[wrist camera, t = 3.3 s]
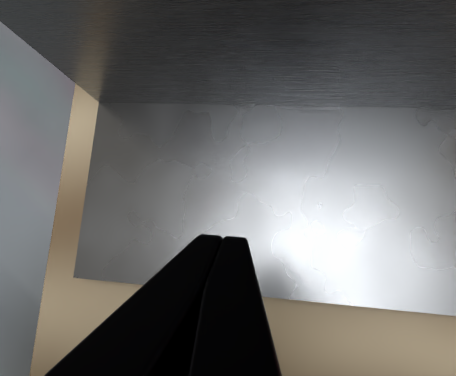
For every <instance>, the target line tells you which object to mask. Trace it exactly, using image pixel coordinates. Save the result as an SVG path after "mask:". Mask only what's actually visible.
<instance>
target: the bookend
mask: <svg viewBox="0 0 456 376" xmlns="http://www.w3.org/2000/svg"><path fill="white" fill-rule="evenodd" d="M0 21H1V22H2V23H3V24H4V25H6V26H7V27H8V28H9V29H10V30H12V31H13V32H14V33H15V34H16V35H18V36H19V37H20V38H21V39H23V40H24V41H25V42H26V43H27V44H29V45H30V46H31V47H32V48H33V49H35V50H36V51H37V52H38V53H40V54H41V55H42V56H43V57H44V58H46V59H47V60H48V61H49V62H50V63H52V64H53V65H54V66H55V67H56V68H58V69H59V70H60V71H61V72H63V73H64V74H65V75H66V76H67V77H69V78H70V79H71V80H72V81H73V82H75V83H76V84H77V85H78V86H80V87H81V88H82V89H83V90H84V91H86V92H87V93H88V94H89V95H90V96H92V97H93V98H94V99H95V100H97V101H98V102H99V104H98V111H97V118H96V125H95V132H94V139H93V145H92V152H91V159H90V166H89V173H88V179H87V186H86V193H85V200H84V207H83V214H82V220H81V227H80V234H79V241H78V248H77V255H76V261H75V268H74V275H73V278H80V279H90V280H100V281H110V282H120V283H130V284H140V285H144V284H145V283H146V282H147V281H148V280H149V279H151V278H152V277H153V276H154V275H155V274H156V273H157V272H158V271H159V270H160V269H162V268H163V267H164V266H165V265H166V264H167V263H168V262H169V261H170V260H171V259H173V258H174V257H175V256H176V255H177V254H178V253H179V252H180V251H181V250H182V249H184V248H185V247H186V246H187V245H188V244H189V243H190V242H191V241H192V240H193V239H195V238H196V237H197V236H198V235H200V234H208V235H219V236H221V237H222V238H224V237H225V236H235V237H245V238H246V239H247V240H248V244H249V247H250V251H251V255H252V259H253V263H254V267H255V271H256V275H257V279H258V283H259V287H260V291H261V295H262V297H270V298H280V299H290V300H300V301H310V302H320V303H330V304H340V305H350V306H360V307H370V308H380V309H390V310H400V311H410V312H420V313H430V314H440V315H450V316H456V0H0Z"/></svg>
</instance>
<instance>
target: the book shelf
mask: <svg viewBox="0 0 456 376" xmlns="http://www.w3.org/2000/svg"><path fill="white" fill-rule="evenodd" d="M98 104H99V102H98V101H97V100H95V99H94V98H93V97H92V96H90V95H89V94H88V93H87V92H86V91H84V90H83V89H82V88H81V87H80V86H78V85H77V84H75V90H74V97H73V103H72V109H71V116H70V122H69V128H68V135H67V141H66V147H65V154H64V160H63V166H62V173H61V179H60V185H59V192H58V198H57V204H56V211H55V217H54V224H53V230H52V236H51V243H50V249H49V255H48V262H47V268H46V274H45V281H44V287H43V293H42V300H41V306H40V312H39V319H38V325H37V331H36V338H35V344H34V350H33V357H32V363H31V369H30V376H44V375H45V374H46V373H47V372H48V371H49V370H50V369H52V368H53V367H54V366H55V365H56V364H57V363H58V362H59V361H60V360H61V359H63V358H64V357H65V356H66V355H67V354H68V353H69V352H70V351H71V350H72V349H74V348H75V347H76V346H77V345H78V344H79V343H80V342H81V341H82V340H83V339H85V338H86V337H87V336H88V335H89V334H90V333H91V332H92V331H93V330H94V329H96V328H97V327H98V326H99V325H100V324H101V323H102V322H103V321H104V320H105V319H107V318H108V317H109V316H110V315H111V314H112V313H113V312H114V311H115V310H116V309H118V308H119V307H120V306H121V305H122V304H123V303H124V302H125V301H126V300H127V299H129V298H130V297H131V296H132V295H133V294H134V293H135V292H136V291H137V290H138V289H140V288H141V287H142V286H143V285H140V284H130V283H120V282H110V281H100V280H90V279H80V278H73V275H74V268H75V261H76V255H77V248H78V241H79V234H80V227H81V220H82V214H83V207H84V200H85V193H86V186H87V179H88V173H89V166H90V159H91V152H92V145H93V139H94V132H95V125H96V118H97V111H98ZM262 298H263V302H264V306H265V310H266V314H267V318H268V322H269V326H270V330H271V334H272V338H273V342H274V346H275V350H276V353H277V357H278V361H279V365H280V369H281V373H282V376H456V316H450V315H440V314H430V313H420V312H410V311H400V310H390V309H380V308H370V307H360V306H350V305H340V304H330V303H320V302H310V301H300V300H290V299H280V298H270V297H262Z"/></svg>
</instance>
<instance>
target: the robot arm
mask: <svg viewBox="0 0 456 376" xmlns="http://www.w3.org/2000/svg"><path fill="white" fill-rule="evenodd" d="M44 376H282V373H281V369H280V365H279V361H278V357H277V353H276V350H275V346H274V342H273V338H272V334H271V330H270V326H269V322H268V318H267V314H266V310H265V306H264V302H263V298H262V295H261V291H260V287H259V283H258V279H257V275H256V271H255V267H254V263H253V259H252V255H251V251H250V247H249V244H248V240H247V239H246V238H245V237H235V236H225V237H224V238H222V237H221V236H219V235H208V234H200V235H198V236H197V237H196V238H195V239H193V240H192V241H191V242H190V243H189V244H188V245H187V246H186V247H185V248H184V249H182V250H181V251H180V252H179V253H178V254H177V255H176V256H175V257H174V258H173V259H171V260H170V261H169V262H168V263H167V264H166V265H165V266H164V267H163V268H162V269H160V270H159V271H158V272H157V273H156V274H155V275H154V276H153V277H152V278H151V279H149V280H148V281H147V282H146V283H145V284H144V285H143V286H142V287H141V288H140V289H138V290H137V291H136V292H135V293H134V294H133V295H132V296H131V297H130V298H129V299H127V300H126V301H125V302H124V303H123V304H122V305H121V306H120V307H119V308H118V309H116V310H115V311H114V312H113V313H112V314H111V315H110V316H109V317H108V318H107V319H105V320H104V321H103V322H102V323H101V324H100V325H99V326H98V327H97V328H96V329H94V330H93V331H92V332H91V333H90V334H89V335H88V336H87V337H86V338H85V339H83V340H82V341H81V342H80V343H79V344H78V345H77V346H76V347H75V348H74V349H72V350H71V351H70V352H69V353H68V354H67V355H66V356H65V357H64V358H63V359H61V360H60V361H59V362H58V363H57V364H56V365H55V366H54V367H53V368H52V369H50V370H49V371H48V372H47V373H46V374H45V375H44Z"/></svg>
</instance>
